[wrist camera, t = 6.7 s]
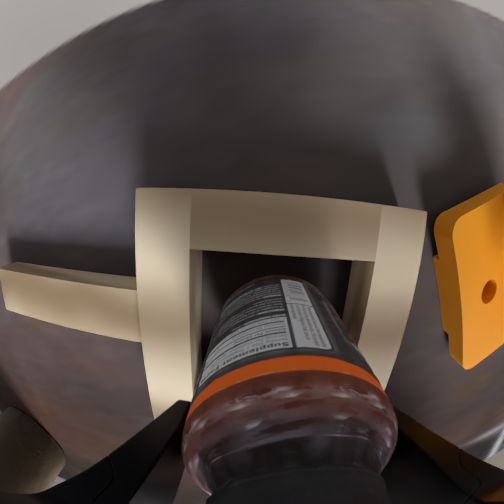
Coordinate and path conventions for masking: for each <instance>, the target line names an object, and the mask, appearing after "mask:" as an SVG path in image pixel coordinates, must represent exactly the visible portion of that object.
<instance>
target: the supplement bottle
mask: <svg viewBox="0 0 504 504" xmlns="http://www.w3.org/2000/svg"><path fill="white" fill-rule="evenodd" d="M397 436H398V422H397V418H396V413H395V412H394V409H393V405H392V404H391V402H390V400H389V399H388V397H387V395H386V394H385V392H384V390H383V388H382V386H381V384H380V381H379V380H378V378H377V377H376V376H375V375H374V373H373V371H372V369H371V367H370V366H369V364H368V363H367V361H366V359H365V357H364V356H363V354H362V353H361V351H360V350H359V348H358V346H357V345H356V343H355V342H354V340H353V338H352V337H351V336H350V334H349V332H348V330H347V329H346V327H345V325H344V324H343V322H342V320H341V319H340V317H339V316H338V314H337V312H336V311H335V309H334V307H333V306H332V305H331V303H330V302H329V300H328V299H327V298H326V297H325V296H324V295H323V294H322V292H321V291H320V290H318V289H317V288H316V287H315V286H313V285H312V284H311V283H309V282H307V281H305V280H303V279H299V278H296V277H292V276H286V275H270V276H264V277H260V278H257V279H254V280H252V281H250V282H248V283H246V284H244V285H243V286H241V287H240V288H239V289H237V290H236V291H235V292H234V293H233V294H232V295H231V296H230V297H229V299H228V300H227V301H226V302H225V304H224V306H223V308H222V310H221V312H220V315H219V317H218V319H217V322H216V326H215V329H214V332H213V335H212V338H211V341H210V344H209V347H208V351H207V354H206V357H205V360H204V363H203V366H202V369H201V373H200V376H199V379H198V382H197V385H196V389H195V392H194V395H193V398H192V401H191V405H190V409H189V413H188V415H187V419H186V422H185V426H184V429H183V436H182V441H181V453H182V458H183V462H184V465H185V467H186V469H187V472H188V474H189V475H190V477H191V478H192V479H193V480H194V482H195V483H196V484H197V485H198V486H199V487H200V488H201V489H202V490H204V491H205V492H206V493H208V494H209V495H210V497H209V498H208V499H207V500H206V504H390V501H389V497H388V493H387V491H386V484H385V480H384V479H383V477H382V476H380V474H381V472H382V470H383V469H384V467H385V466H386V465H387V464H388V461H389V460H390V458H391V456H392V454H393V452H394V449H395V446H396V443H397Z"/></svg>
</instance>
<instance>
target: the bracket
mask: <svg viewBox="0 0 504 504" xmlns="http://www.w3.org/2000/svg"><path fill="white" fill-rule="evenodd" d="M434 236H435V241H436V245H437V250H438V254H437V255H435V256H433V261H434V267H435V272H436V278H437V284H438V291H439V298H440V306H441V315H442V325H443V330H444V331H445V332H446V333H448V335H449V353H450V355H451V356H452V357H453V358H454V359H455V360H456V361H457V362H458V363H459V364H460V365H461V366H462V367H463V368H464V369H470V368H472V367H474V366H475V365H476V364H478V363H479V362H480V361H482V360H483V359H484V358H486V357H487V356H488V355H490V354H491V353H492V352H493V351H495V350H496V349H497V348H498V347H500V346H501V345H502V344H503V343H504V182H501V183H499V184H497V185H495V186H493V187H491V188H489V189H487V190H486V191H484V192H482V193H480V194H478V195H476V196H474V197H472V198H470V199H468V200H466V201H464V202H462V203H460V204H458V205H456V206H454V207H452V208H450V209H448V210H446V211H444V212H442V213H441V214H440V215H439V216H438V217H437V219H436V221H435V224H434Z"/></svg>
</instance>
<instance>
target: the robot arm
mask: <svg viewBox="0 0 504 504" xmlns="http://www.w3.org/2000/svg"><path fill="white" fill-rule="evenodd" d="M190 405H191V402H190V401H185V400H178V401H176V402H175V403H174V404H173V405H172V406H170V407H169V408H168V409H167V410H165V411H164V412H163V413H162V414H161V415H159V416H158V417H157V418H156V419H154V420H153V421H152V422H151V423H149V424H148V425H147V426H146V427H144V428H143V429H142V430H141V431H139V432H138V433H137V434H135V435H134V436H133V437H132V438H130V439H129V440H128V441H126V442H125V443H124V444H122V445H121V446H120V447H118V448H117V449H116V450H114V451H113V452H112V453H110V454H109V456H106V457H105V458H103V459H102V460H101V461H99V462H98V463H96V464H95V465H93V466H92V467H90V468H89V469H87V470H85V471H83V472H82V473H80V474H78V475H76V476H74V477H72V478H70V479H68V480H66V481H64V482H62V483H60V484H58V485H56V486H54V487H51V488H49V489H47V490H44V491H42V492H38V493H33V494H19V493H9V492H2V491H0V504H173V502H174V499H175V496H176V493H177V490H178V487H179V484H180V481H181V478H182V475H183V471H184V468H185V465H184V462H183V458H182V453H181V441H182V436H183V429H184V426H185V422H186V419H187V415H188V413H189V409H190ZM393 409H394V412H395V413H396V418H397V422H398V436H397V443H396V446H395V449H394V452H393V454H392V456H391V458H390V460H389V461H388V464H387V465H386V466H385V467H384V469H383V470H382V472H381V474H380V476H382V477H383V479H384V480H385V484H386V491H387V493H388V497H389V501H390V504H504V470H503V469H500V468H498V467H495V466H493V465H491V464H488V463H486V462H484V461H482V460H480V459H478V458H476V457H474V456H472V455H471V454H469V453H467V452H465V451H464V450H462V449H459V448H458V447H457V446H455V445H454V444H452V443H450V442H449V441H447V440H445V439H444V438H442V437H441V436H439V435H437V434H436V433H434V432H433V431H431V430H430V429H428V428H426V427H425V426H423V425H422V424H420V423H419V422H417V421H416V420H414V419H412V418H411V417H409V416H408V415H406V414H405V413H403V412H402V411H400V410H399V409H397V408H396V407H394V406H393Z"/></svg>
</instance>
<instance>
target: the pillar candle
mask: <svg viewBox="0 0 504 504" xmlns="http://www.w3.org/2000/svg"><path fill="white" fill-rule="evenodd" d="M64 466H65V456H64V453H63V451H62V450H61V448H60V447H59V445H58V444H57V443H56V442H55V441H54V439H52V437H51V436H50V435H49V434H48V433H47V432H45V431H44V430H43V429H42V428H41V427H40V426H39V425H38V424H37V423H36V422H35V421H34V420H33V419H32V418H31V417H30V416H28V415H27V414H25V413H23V412H22V411H20V410H18V409H16V408H14V407H8V408H6V409H5V410H4V411H3V412H2V413H1V415H0V491H2V492H9V493H19V494H33V493H38V492H42V491H44V490H47V489H49V488H50V487H51V485H52V484H53V482H54V480H55V479H56V477H57V476H58V474H59V473H60V471H61V470H62V468H63V467H64Z"/></svg>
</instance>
